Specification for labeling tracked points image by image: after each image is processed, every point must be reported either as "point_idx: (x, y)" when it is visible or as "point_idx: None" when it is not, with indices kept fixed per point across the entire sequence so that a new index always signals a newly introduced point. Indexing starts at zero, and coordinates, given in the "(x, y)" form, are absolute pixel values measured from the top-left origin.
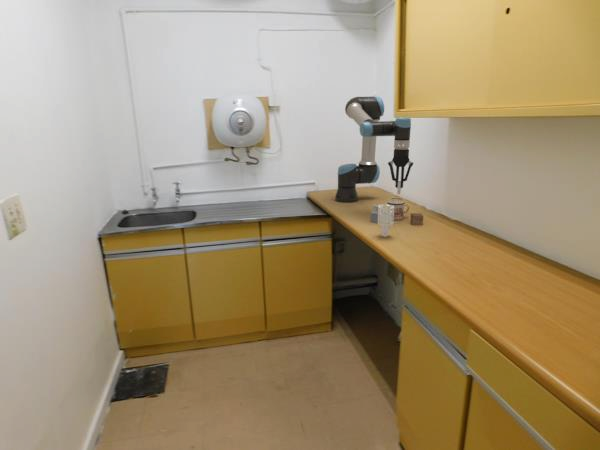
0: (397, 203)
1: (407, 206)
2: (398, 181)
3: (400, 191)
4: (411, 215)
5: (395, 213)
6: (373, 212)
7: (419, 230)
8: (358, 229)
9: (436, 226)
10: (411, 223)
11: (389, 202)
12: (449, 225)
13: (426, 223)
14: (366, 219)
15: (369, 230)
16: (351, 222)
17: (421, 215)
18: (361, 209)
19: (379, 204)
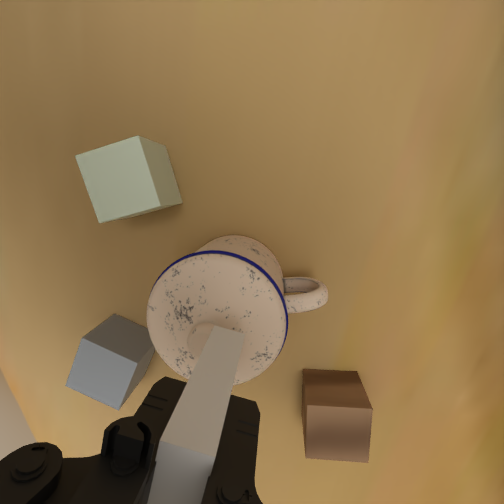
0: None
1: (316, 289)
2: (161, 464)
3: (240, 352)
4: (306, 413)
5: None
6: (81, 377)
7: (310, 494)
8: None
9: (416, 445)
10: (302, 393)
11: (158, 353)
12: (495, 434)
13: (384, 393)
14: (79, 306)
15: None
16: (12, 357)
17: (356, 461)
18: (39, 48)
19: (124, 142)
